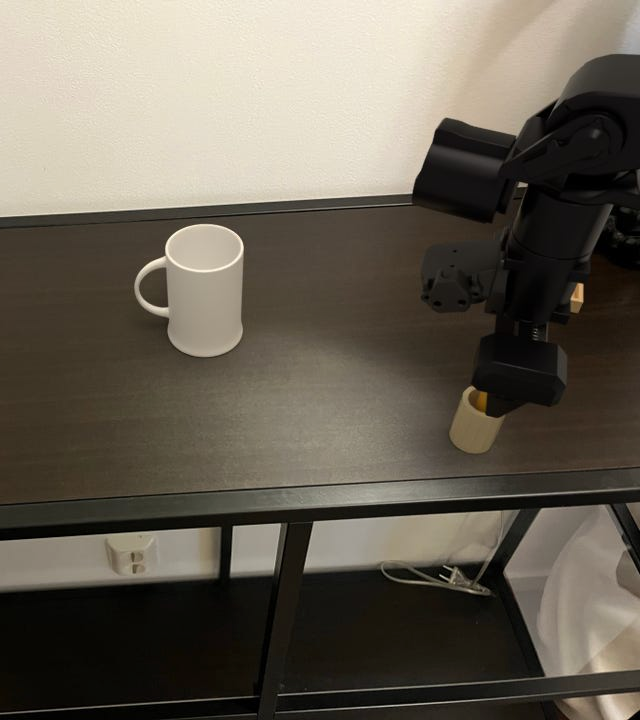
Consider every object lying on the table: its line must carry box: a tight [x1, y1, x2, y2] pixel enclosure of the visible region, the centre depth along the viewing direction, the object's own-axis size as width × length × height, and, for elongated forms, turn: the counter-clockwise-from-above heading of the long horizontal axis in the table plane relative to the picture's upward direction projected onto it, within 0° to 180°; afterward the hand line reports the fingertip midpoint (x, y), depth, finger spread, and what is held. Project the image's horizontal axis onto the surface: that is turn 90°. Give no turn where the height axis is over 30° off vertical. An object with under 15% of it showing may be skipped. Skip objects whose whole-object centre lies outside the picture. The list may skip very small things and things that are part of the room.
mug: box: [134, 223, 245, 358], centre depth 81 cm, size 12×8×12 cm
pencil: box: [475, 392, 487, 413], centre depth 69 cm, size 1×1×10 cm
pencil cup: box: [448, 385, 507, 455], centre depth 71 cm, size 4×4×6 cm
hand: (495, 378), depth 67 cm, fingers open, 9 cm apart
